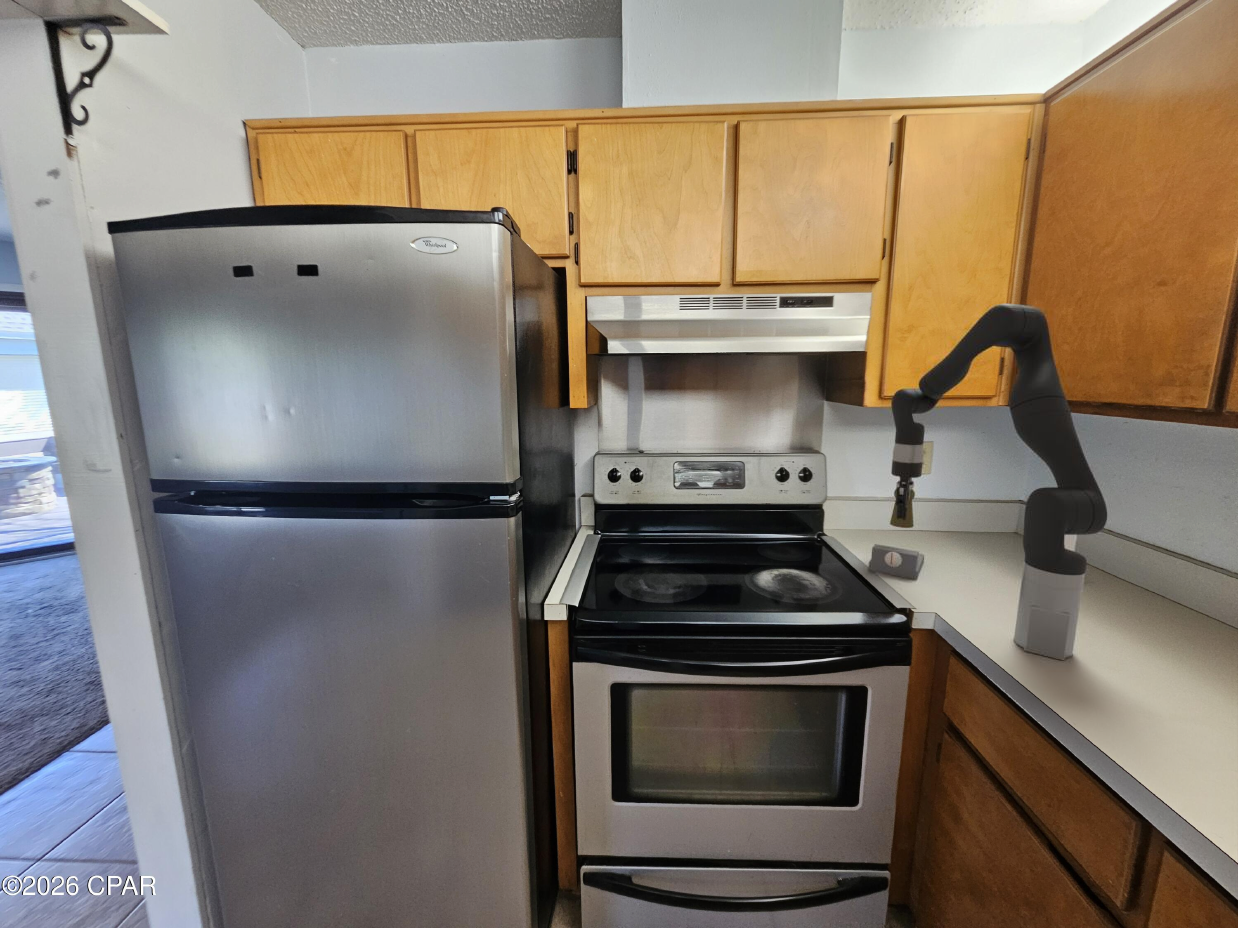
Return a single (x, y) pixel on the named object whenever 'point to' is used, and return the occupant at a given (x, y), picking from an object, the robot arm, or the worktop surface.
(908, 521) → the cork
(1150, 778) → the worktop surface
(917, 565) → the knob on square plate
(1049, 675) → the worktop surface
